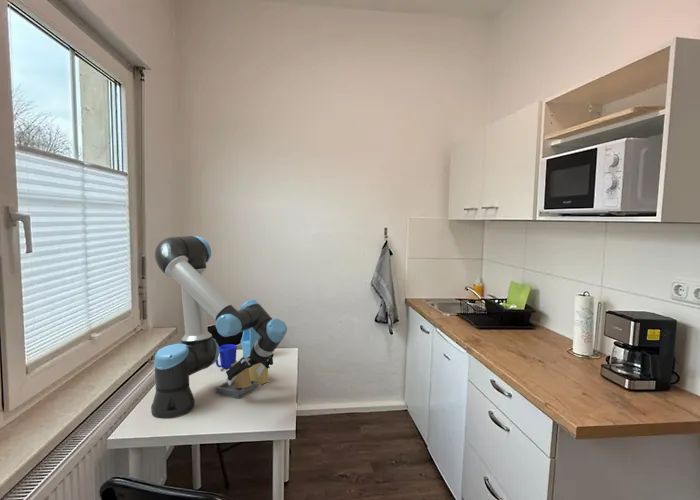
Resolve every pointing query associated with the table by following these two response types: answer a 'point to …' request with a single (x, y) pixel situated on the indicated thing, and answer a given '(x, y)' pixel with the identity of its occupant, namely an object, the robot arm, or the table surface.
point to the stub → (242, 378)
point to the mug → (227, 355)
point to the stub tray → (235, 389)
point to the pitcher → (248, 341)
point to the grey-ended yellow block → (254, 376)
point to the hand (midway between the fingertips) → (243, 377)
